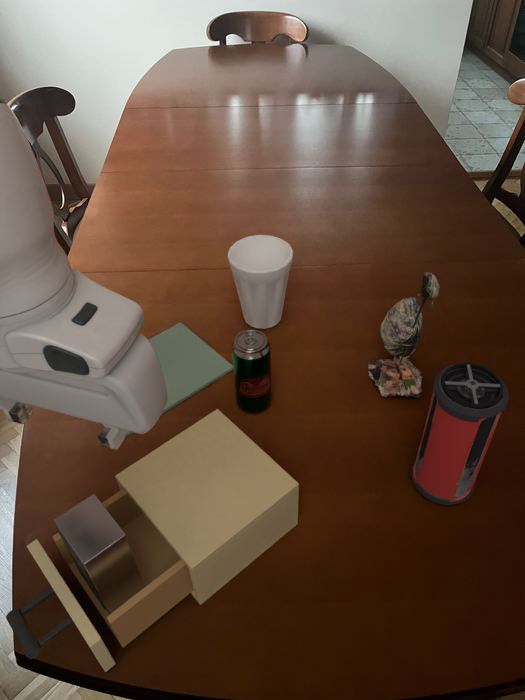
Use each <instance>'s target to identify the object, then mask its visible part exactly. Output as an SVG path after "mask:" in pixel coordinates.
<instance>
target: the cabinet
mask: <svg viewBox="0 0 525 700" xmlns="http://www.w3.org/2000/svg"><path fill="white" fill-rule="evenodd" d="M114 477H115V480H116V483H117V485H118V488H119V491H120V490H122V489H123V488H124V490H125V491H126V492H127V493H128V494H129V496H130V497H131V498H132V499H133V501H134V502H135V503H136V504H137V505H138V507H139V508H140V509H141V510H142V512H143V513H144V514H145V515H146V516H147V518H148V519H149V520H150V521H151V522H152V524H153V525H154V526H155V527H156V529H157V530H158V531H159V532H160V533H161V535H162V536H163V537H164V538H165V540H166V541H167V542H168V543H169V544H170V546H171V547H172V548H173V549H174V550H175V552H176V553H177V554H178V555H179V557H180V558H181V559H182V560H183V561H184V563H185V564H186V565H187V566H188V568H189V572H190V576H191V580H192V584H193V588H194V590H193V591H192V592H191V593H190V594H191V595H192V597H193V598H194V599H195V600H196V602H197V603H198V604H199V605H200V606H201V605H202V604H204V603H205V602H207V600H209V599H210V598H211V597H212V596H213V595H214V594H216V593H217V592H218V591H220V590H221V589H222V588H223V587H224V586H226V585H227V584H228V583H229V582H230V581H231V580H232V579H234V578H235V577H236V576H238V575H239V574H240V573H241V572H242V571H244V570H245V569H246V568H247V567H248V566H249V565H250V564H252V563H253V562H254V561H255V560H256V559H258V558H259V557H260V556H261V555H262V554H264V553H266V551H267V550H268V549H270V548H271V547H272V546H273V545H275V544H276V543H277V542H278V541H279V540H280V539H281V538H283V537H284V536H286V535H287V534H288V533H289V532H290V531H291V530H292V529H294V528H295V527H296V526H297V525H298V524H299V496H300V495H299V491H300V488H299V487H300V484H299V483H300V482H298V481H297V480H295V478H294V477H292V476H291V474H289V473H288V472H287V471H286V470H285V469H284V468H282V467H281V465H279V464H278V462H276V461H275V460H274V459H273V458H272V457H271V456H270V455H268V453H266V452H265V451H264V450H263V449H262V448H261V447H259V445H258V444H257V443H255V442H254V441H253V440H252V439H251V438H250V437H249V436H248V435H246V433H244V431H242V429H241V428H239V427H238V426H237V425H236V424H235V423H234V422H233V421H231V419H230V418H228V416H226V415H225V414H224V413H223V412H222V411H221V410H219V409H218V408H216V409H215V410H213V411H212V412H210V413H209V414H207V415H205V416H204V417H202V418H201V419H199V420H198V421H196V422H195V423H193V424H192V425H190V426H188V427H187V428H186V429H184V430H183V431H181V432H180V433H178V434H177V435H175V436H174V437H172V438H170V439H169V440H167V441H166V442H165V443H163V444H162V445H160V446H158V447H157V448H156V449H154V450H152V451H150V452H149V453H148V454H146V455H145V456H143V457H142V458H140V459H139V460H137V461H135V462H133V463H132V464H131V465H129V466H128V467H126V468H124V469H123V470H121V471H120V472H119V473H117V474H115V475H114Z"/></svg>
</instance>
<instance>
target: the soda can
mask: <svg viewBox="0 0 525 700" xmlns="http://www.w3.org/2000/svg"><path fill="white" fill-rule="evenodd" d="M231 352H232V353H231V356H232V365H233V367H234V369H233V379H234V388H235V399H236V400H235V401H236V405H237V406H238V407H239V409H240V410H242V411H245V412H247V413H252V414H254V413H260V412H263V411H265V410H266V409H268V407H269V406H270V405H271V403H272V400H273V399H272V398H273V396H272V394H273V393H272V359H271V358H272V357H271V356H272V355H271V354H272V353H271V343H270V341H269V340H268V337H267V336H266V334H265V333H264V332H262V331H259V330H256V329H247V330H242V331H240V332H239V333H238V334H237V335H235V338H234V340H233V342H232V345H231Z"/></svg>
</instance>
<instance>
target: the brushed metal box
mask: <svg viewBox="0 0 525 700" xmlns="http://www.w3.org/2000/svg"><path fill="white" fill-rule="evenodd" d="M102 503H103V502H101V500H100V499H99V498H98V497H97V495H96V494H95V493H93V494H91V495H89V496H88V497H86V498H85V499H84V500H82V501H80V502H79V503H77V504H76V505H75V506H73V507H71V508H70V509H68V510H67V511H65V512H64V513H62V514H61V515H59V516H58V517H56V518H54V519H53V522H54V524H55V526H56V528H57V530H58V532H59V535H60V536H61V538H62V540H63V542H64V544H65V546H66V548H67V550H68V551H69V553H70V555H71V557H72V559H73V561H74V563H75V565H76V567H77V568H78V570H79V572H80V574H81V576H82V577H83V579H84V580H85V582H86V583H87V585H88V586H89V588H90V589H91V591H92V592H93V594H94V595H95V597H96V598H97V599H98V601H99V602H100V604H101V605H102V607H103V608H104V610H106V611H107V613H108V614H109V615H110V614H111V613H112V612H114V611H115V610H116V609H118V608H119V607H120V606H121V605H123V604H124V603H125V602H127V601H128V600H129V599H130V598H132V597H133V596H134V595H136V594H137V593H138V592H139V591H141V590H142V589H143V588H145V585H144V582H143V579H142V577H141V574H140V571H139V569H138V566H137V563H136V561H135V558H134V555H133V553H132V550H131V547H130V545H129V542H128V539H127V537H126V534H125V533H124V532H123V530H122V529H121V528H120V527H119V525H118V524H117V523H116V521H115V520H114V519H113V517H112V516H111V515H110V514H109V512H108V511H107V510H106V508H105V507H104V506H103V504H102Z"/></svg>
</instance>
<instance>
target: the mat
mask: <svg viewBox="0 0 525 700" xmlns="http://www.w3.org/2000/svg"><path fill="white" fill-rule="evenodd" d="M148 340H149V341H150V343H151V344H152V346H153V348H154V349H155V352H156V354H157V357H158V360H159V363H160V366H161V369H162V373H163V376H164V380H165V385H166V389H167V403H166V406H165V408H164V410H163V412H162V414H161V416H162V415H163V414H165V413H167V412H168V411H170V410H171V409H173V408H174V407H176V406H178V405H179V404H181V403H182V402H184V401H186V400H188V399H189V398H190V397H192V396H194V395H195V394H197V393H199V392H200V391H202V390H203V389H205V388H206V387H208V386H210V385H211V384H213V383H215V382H216V381H218V380H219V379H221V378H222V377H224V376H226V375H227V374H229V373H231V372H232V371H234V367H233V364H232V363H230V362H229V361H228V360H227V359H225V358H224V356H222V355H221V354H220V353H218V352H217V351H216V350H215V349H214V348H212V347H211V346H210V345H209V344H208V343H207V342H205V341H204V340H203V339H202V338H201V337H199V336H198V335H197V334H195V333H194V332H193V331H192V330H191V329H189V327H187V326H186V325H185V324H184V323H182V322H180V321H179V322H178V323H175V324H174V325H172V326H171V327H168V328H167V329H165V330H163V331H162V332H160V333H158V334H156V335H154V336H152V337H150V338H149V339H148ZM124 432H125V438H127V437H129V436H130V435H132V434H133V433H134V432H131V431H127V430H124Z"/></svg>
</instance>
